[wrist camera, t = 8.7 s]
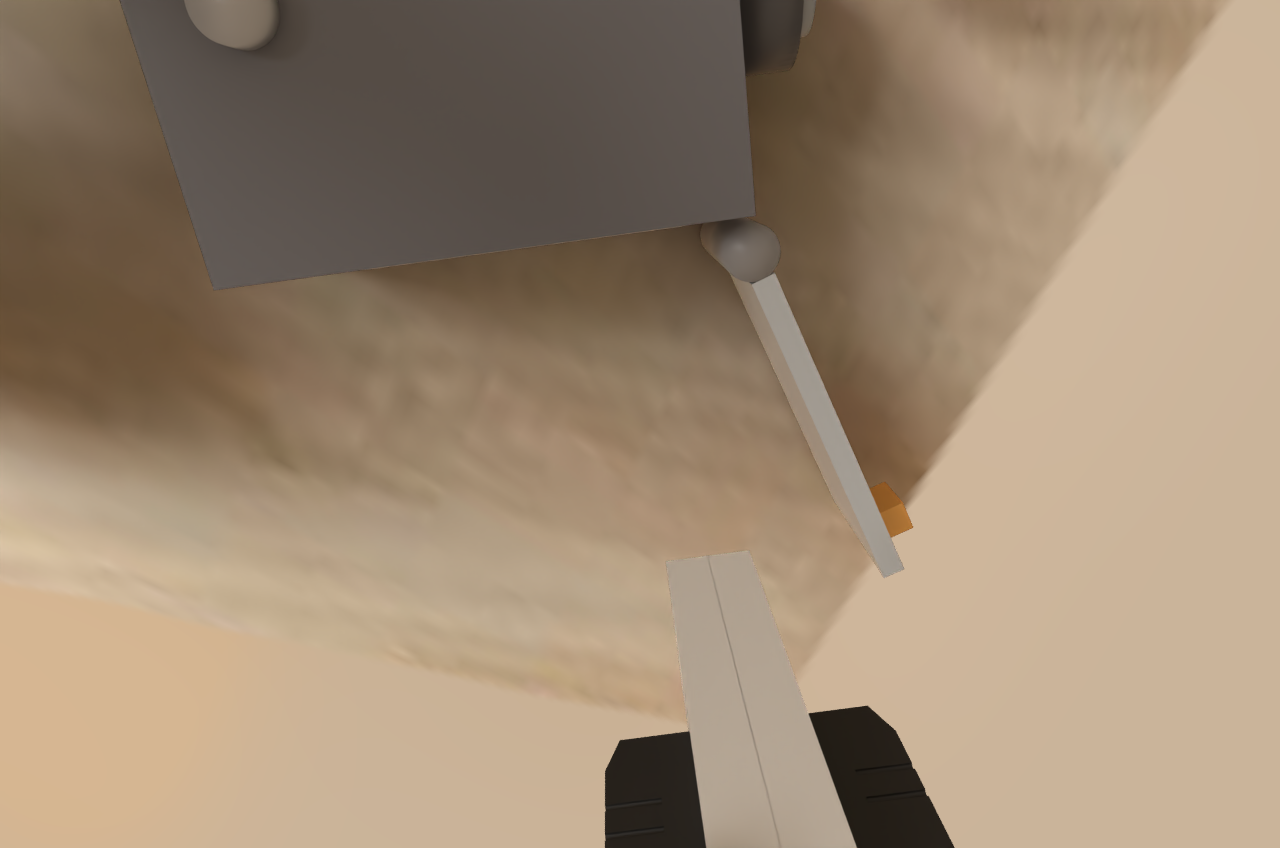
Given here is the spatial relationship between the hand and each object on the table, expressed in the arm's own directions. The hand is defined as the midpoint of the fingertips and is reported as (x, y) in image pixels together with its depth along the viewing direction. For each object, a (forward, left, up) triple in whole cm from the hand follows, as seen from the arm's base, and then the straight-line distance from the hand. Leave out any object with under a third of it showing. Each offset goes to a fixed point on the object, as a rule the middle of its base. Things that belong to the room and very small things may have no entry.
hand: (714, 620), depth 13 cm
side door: (+5, -1, -18) cm, 19 cm away
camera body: (-4, +11, -19) cm, 22 cm away
